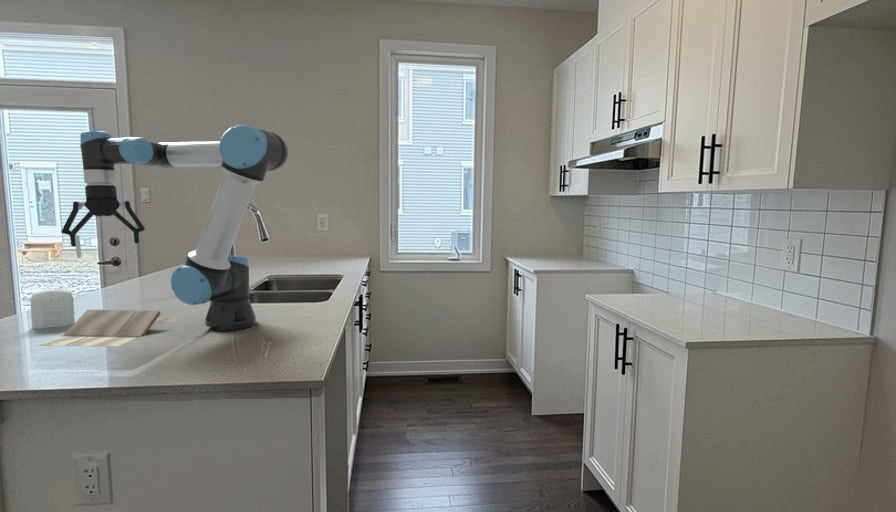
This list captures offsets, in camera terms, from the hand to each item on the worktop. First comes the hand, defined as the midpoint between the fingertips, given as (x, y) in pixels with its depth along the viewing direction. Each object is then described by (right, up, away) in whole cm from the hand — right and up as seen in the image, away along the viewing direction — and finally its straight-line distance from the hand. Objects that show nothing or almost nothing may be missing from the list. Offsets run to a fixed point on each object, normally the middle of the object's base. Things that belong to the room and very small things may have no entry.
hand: (107, 255), depth 144 cm
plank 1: (+3, -21, -2) cm, 21 cm away
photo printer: (-19, -23, +3) cm, 30 cm away
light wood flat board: (+3, -25, -11) cm, 28 cm away
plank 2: (+4, -22, +11) cm, 25 cm away
